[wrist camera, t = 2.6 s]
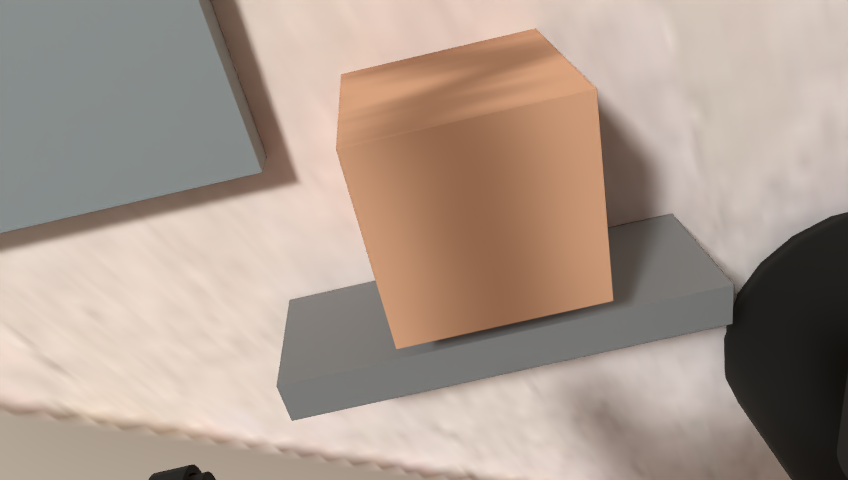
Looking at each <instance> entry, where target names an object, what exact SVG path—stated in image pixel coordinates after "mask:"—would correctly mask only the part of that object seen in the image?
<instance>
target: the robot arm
mask: <svg viewBox="0 0 848 480" xmlns="http://www.w3.org/2000/svg"><path fill="white" fill-rule="evenodd" d="M837 457H838V461H839V464H840V467H841V469H842V471H843V472H844V474H845V475H846V477H847V478H848V373H847V381H846V388H845V395H844V402H843V409H842V416H841V423H840V430H839V438H838V445H837ZM149 480H216V479H215V478H214V476H213V475H212V473H210V472H205V473H201V471H200V470H199V468H198V467H197V466H195V465H188V466H184V467H180V468H176V469H172V470H167V471H163V472H158V473H154V474H153V475H152V476H151V477H150V478H149Z"/></svg>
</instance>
